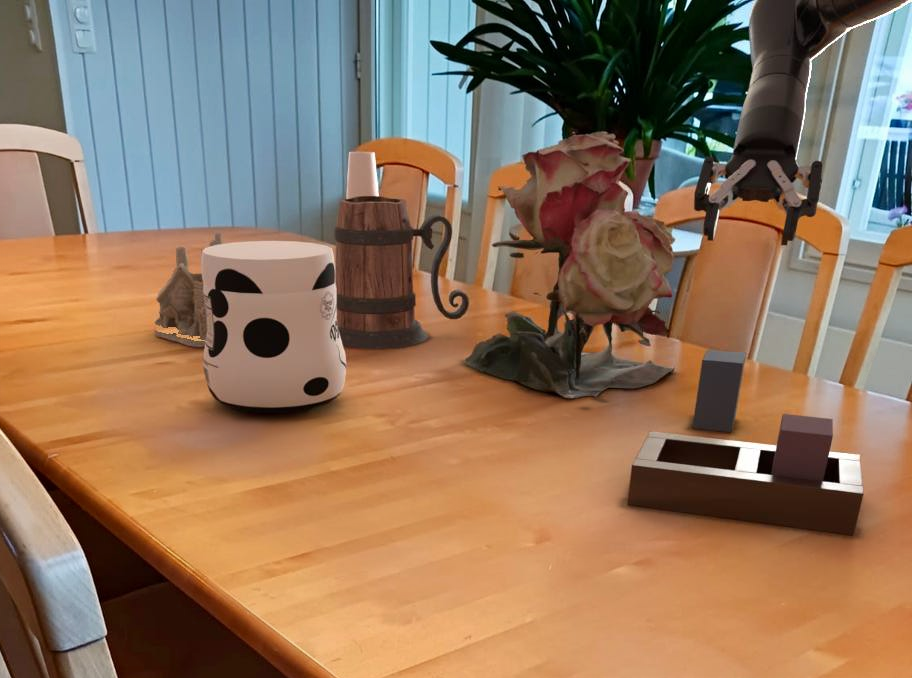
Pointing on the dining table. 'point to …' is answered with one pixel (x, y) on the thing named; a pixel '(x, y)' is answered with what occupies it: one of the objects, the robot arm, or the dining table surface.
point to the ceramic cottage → (184, 302)
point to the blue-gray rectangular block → (718, 390)
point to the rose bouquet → (583, 272)
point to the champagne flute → (362, 175)
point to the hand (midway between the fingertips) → (747, 238)
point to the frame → (743, 484)
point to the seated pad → (803, 447)
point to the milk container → (272, 326)
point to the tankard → (383, 273)
